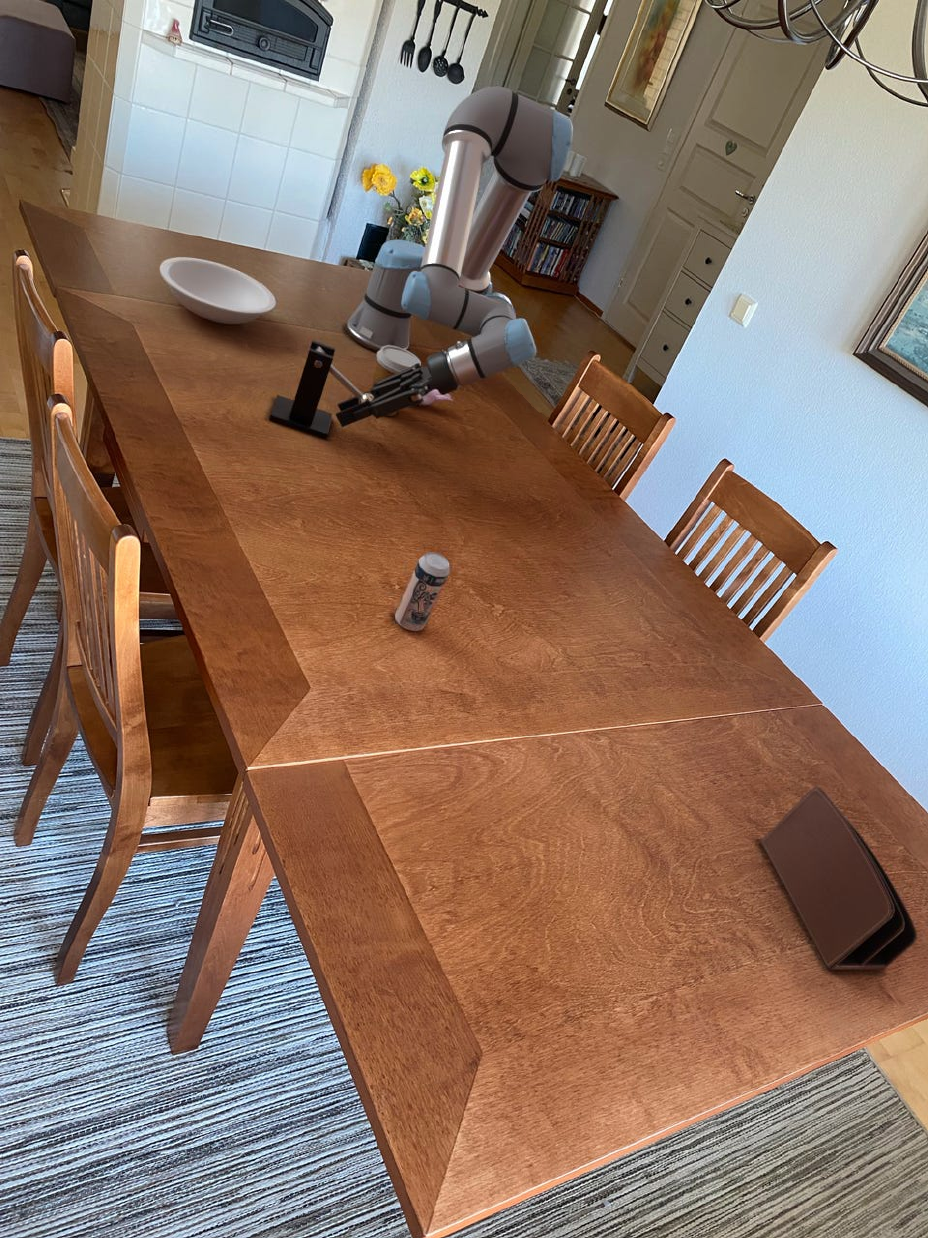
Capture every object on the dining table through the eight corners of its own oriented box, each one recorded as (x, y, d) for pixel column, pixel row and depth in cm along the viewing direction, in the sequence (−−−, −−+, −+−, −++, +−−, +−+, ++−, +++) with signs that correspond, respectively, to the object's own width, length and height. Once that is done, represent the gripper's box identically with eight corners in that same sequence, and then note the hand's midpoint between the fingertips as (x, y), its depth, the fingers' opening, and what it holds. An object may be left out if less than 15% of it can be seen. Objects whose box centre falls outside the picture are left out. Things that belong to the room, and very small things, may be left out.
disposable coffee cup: (406, 407, 198) (426, 357, 191) (399, 425, 190) (419, 373, 184) (365, 390, 197) (383, 339, 190) (356, 407, 189) (374, 354, 182)
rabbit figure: (388, 409, 197) (454, 413, 203) (393, 384, 194) (460, 388, 199) (382, 395, 202) (446, 398, 207) (386, 370, 198) (452, 374, 203)
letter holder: (827, 971, 117) (897, 908, 109) (758, 842, 132) (815, 778, 124) (884, 971, 121) (955, 910, 113) (811, 845, 136) (870, 784, 128)
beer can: (401, 633, 137) (429, 571, 131) (389, 612, 140) (416, 550, 133) (428, 632, 140) (457, 571, 133) (416, 612, 143) (444, 551, 136)
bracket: (330, 418, 181) (353, 350, 173) (326, 439, 174) (349, 369, 166) (275, 399, 178) (296, 329, 170) (268, 420, 171) (289, 347, 163)
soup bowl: (284, 323, 208) (292, 296, 204) (240, 353, 188) (247, 323, 184) (187, 276, 207) (193, 248, 203) (132, 301, 187) (137, 270, 183)
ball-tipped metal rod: (368, 411, 177) (381, 399, 176) (367, 419, 174) (380, 407, 173) (308, 355, 170) (321, 342, 169) (306, 363, 168) (319, 349, 166)
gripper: (445, 333, 175) (334, 380, 180) (445, 368, 162) (326, 417, 167) (460, 368, 179) (352, 413, 184) (462, 405, 166) (345, 452, 171)
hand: (340, 415), depth 176 cm, fingers closed on ball-tipped metal rod, 4 cm apart
